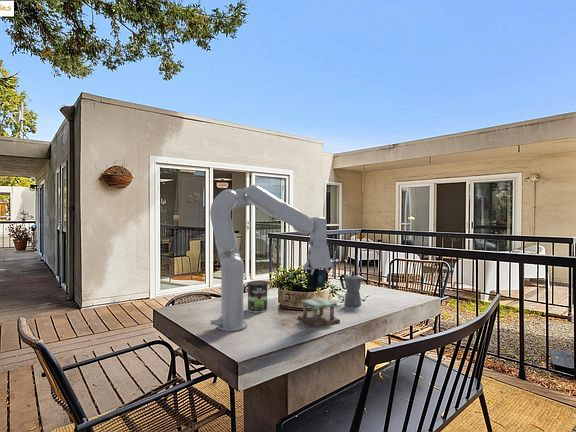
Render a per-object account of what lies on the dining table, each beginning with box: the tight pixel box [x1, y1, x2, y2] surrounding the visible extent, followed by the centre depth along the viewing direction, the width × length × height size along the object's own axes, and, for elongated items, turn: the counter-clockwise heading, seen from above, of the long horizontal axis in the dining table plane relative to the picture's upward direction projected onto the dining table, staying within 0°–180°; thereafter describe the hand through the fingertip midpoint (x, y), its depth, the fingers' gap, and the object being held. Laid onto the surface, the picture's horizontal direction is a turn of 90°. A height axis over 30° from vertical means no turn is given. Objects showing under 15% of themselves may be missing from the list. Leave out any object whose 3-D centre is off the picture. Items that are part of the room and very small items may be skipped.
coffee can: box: [247, 280, 269, 314], centre depth 177 cm, size 10×10×14 cm
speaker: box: [306, 269, 326, 290], centre depth 157 cm, size 8×6×10 cm
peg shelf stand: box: [297, 297, 341, 328], centre depth 158 cm, size 14×14×9 cm
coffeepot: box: [339, 271, 364, 308], centre depth 188 cm, size 15×9×18 cm, turn 44°
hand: (318, 282), depth 158 cm, fingers closed on speaker, 6 cm apart
